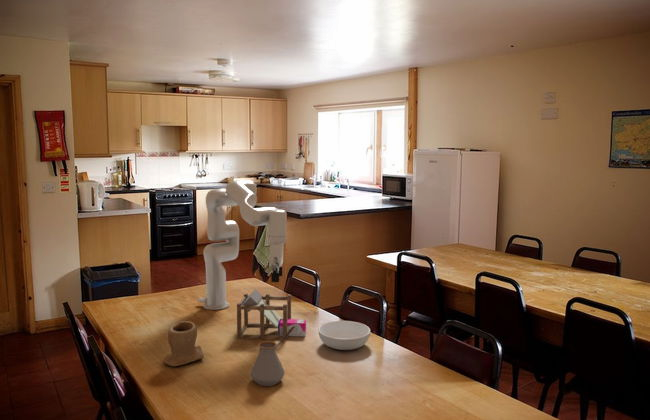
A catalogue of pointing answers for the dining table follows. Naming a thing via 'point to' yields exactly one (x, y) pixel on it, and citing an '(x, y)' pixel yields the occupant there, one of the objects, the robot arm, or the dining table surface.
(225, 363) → the dining table surface
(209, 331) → the dining table surface
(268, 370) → the coffee pot
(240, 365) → the dining table surface
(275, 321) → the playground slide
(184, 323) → the stone cup
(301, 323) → the supplement box
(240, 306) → the stand
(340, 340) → the serving bowl
